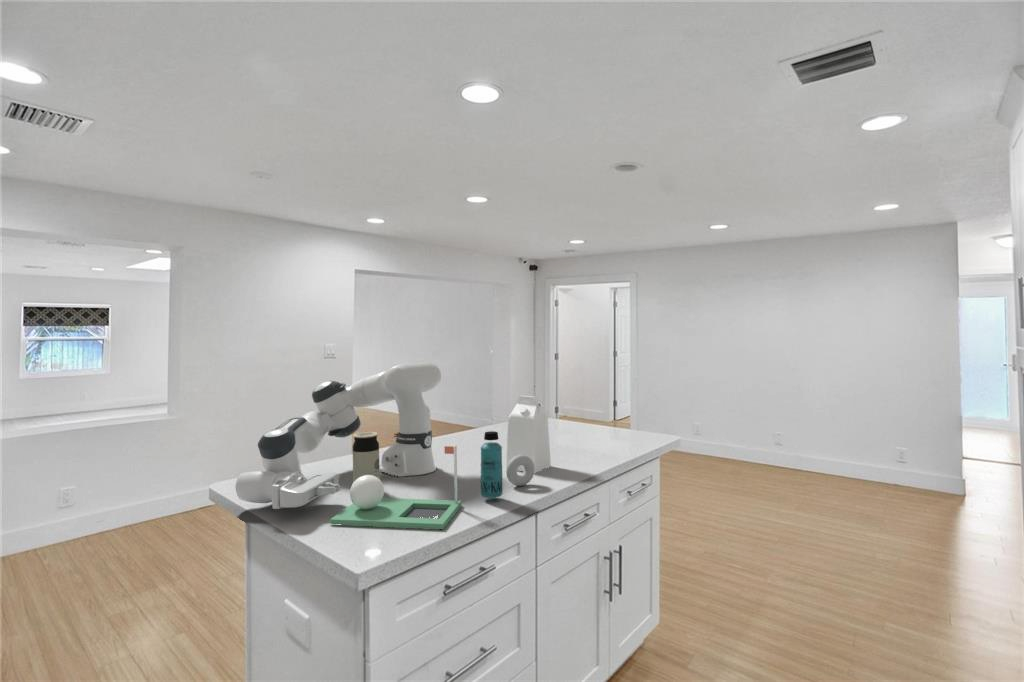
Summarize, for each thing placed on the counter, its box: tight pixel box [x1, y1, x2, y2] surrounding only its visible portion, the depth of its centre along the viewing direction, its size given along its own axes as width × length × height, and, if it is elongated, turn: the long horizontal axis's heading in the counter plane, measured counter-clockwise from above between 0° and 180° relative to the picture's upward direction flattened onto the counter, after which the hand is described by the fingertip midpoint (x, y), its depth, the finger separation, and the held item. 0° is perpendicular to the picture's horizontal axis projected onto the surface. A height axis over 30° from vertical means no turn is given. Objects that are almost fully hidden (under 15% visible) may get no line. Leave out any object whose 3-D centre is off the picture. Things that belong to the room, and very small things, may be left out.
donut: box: [505, 455, 535, 487], centre depth 162 cm, size 10×4×10 cm, turn 119°
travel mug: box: [352, 431, 381, 484], centre depth 159 cm, size 8×8×18 cm
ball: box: [349, 475, 385, 509], centre depth 138 cm, size 9×9×9 cm
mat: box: [330, 445, 463, 531], centre depth 137 cm, size 30×18×18 cm, turn 81°
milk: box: [506, 395, 552, 474], centre depth 184 cm, size 12×12×26 cm
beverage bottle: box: [479, 430, 504, 499], centre depth 148 cm, size 6×7×20 cm
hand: (337, 489), depth 140 cm, fingers closed
